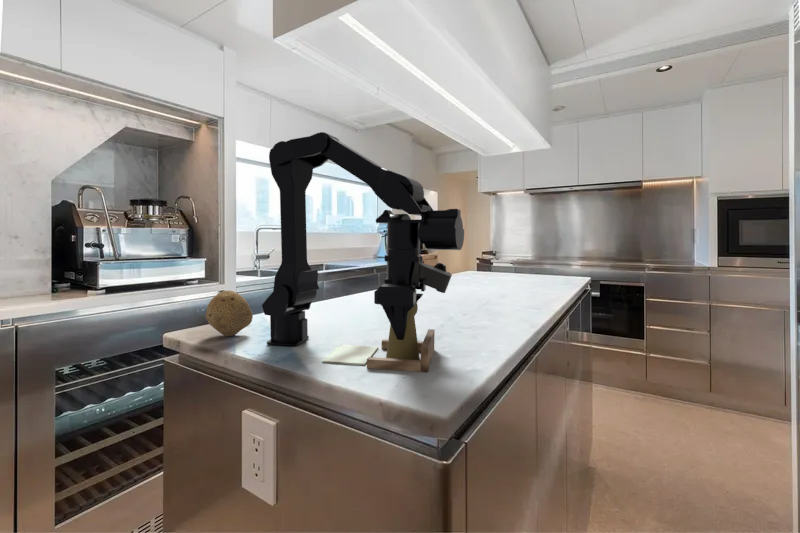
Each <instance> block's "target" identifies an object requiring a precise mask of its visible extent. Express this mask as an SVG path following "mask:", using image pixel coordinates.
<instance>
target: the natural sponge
mask: <svg viewBox="0 0 800 533" xmlns="http://www.w3.org/2000/svg"><path fill="white" fill-rule="evenodd" d="M205 311H206V312H205V319H206V321H207V322H208V324H209V325H210V326H211V327H212V328H213V329H215V330H216V331H217V332H218V333H219V334H221V335H222V336H225V337H234V336H236V335H238V333H239V332H240V331H242V330H243V329H245V328H246V327H249V326H250V325H251V323H252V322H253V316H254V315H253V312H252V309H251V307H250V305H249V303H248V302H247V300H246V299H245V297H244V296H242V295H241V294H239V293H238V292H236V291H234V290H223V291H221V292H219V293H217V294H216V295H214V296H213V298H211V299H210V301H209V302H208V304H207V306H206V310H205Z"/></svg>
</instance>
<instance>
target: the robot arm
mask: <svg viewBox="0 0 800 533" xmlns="http://www.w3.org/2000/svg"><path fill="white" fill-rule="evenodd" d="M268 154H269V155H268V159H269V167H270V173H271V176H272V178H273V180H274V182H275V184H276V186H277V187H278V189H279V203H280V204H279V207H280V208H279V210H280V239H281V240H280V245H281V248H280V249H281V263H280V265H279V267H278V269H277V272H276V273H275V275H274V281H273V289H272V290H273V291H272V292H271V293H270V295H269V296H268V297H267V298H266V299H265V301H264V302H263V303H262V304H261V306H262V310H263V313H264V315H265V316H269V322H270V323H269V325H270V339H269V340H267V341H266V345H272V346H273V345H274V346H286V347H287V346H288V347H291V346H292V347H296V346H299V345H300V344H302V343H304V342H305V341H306V340H308V339H309V338H310V337H309V335H308V334H309V332H308V318H306V311H308V310H310V309H311V304H312V303H313V302H312V301H313V300H314V299H315V298H316V296H317V292H318V290H320V287H319V283H318V279H319V272H318V269H315V270H313V269H312V268H311V266H310V265H309V262H308V248H307V246H308V243H307V237H308V236H307V206H306V205H307V202H306V200H307V199H306V198H307V197H306V196H307V195H306V191H307V189H308V187H309V184H310V183H311V181H312V178H313V173H314V172H313V171H314V169H316V168H320V167H322V166H324V164H325V163H327V162H328V161H331V162H333V163H334V164H336V165H337V166H339V167H340V168H342V169H343V170H345V171H346V172H348V173H349V174H350V175H352V176H354V177H356V178H357V179H359V180H361V181H362V182H364V184H366V185H367V186H369V187H370V189H371V190H372V191H373V192H374V195H375V196H377V197H378V198H379V199H380V200H381V201H382V202H383V203H384V204H385V205H386V206H387V207H389V208H391V209H393V210H399V211H403V212H405V213H393V212H392V210H390V209H384V210H383V212H382V213H381V214H380V215H379V216H378V217H376V219H375V223H377V224H385V225H387V226H386V227H387V228H386V229H387V230H386V237H387V238H386V242H387V243H386V246H387V247H386V254H385V255H384V262H386V278H384V284H382V285H380V286H379V287H378V288H377V289H376V290H375V291H374V298H373V300H374V301H373V302H374V303H373V304H375V305H380V306H381V307H382V309H383V311H384V313H385V315H386V317H387V320H388V322H389V323H390V324H389V325H391V326H392V328H393V331H394V333H395V335H396V337H397V339H398V340H403V339H404V336H405V331H406V325H407V319H408V314H409V310H410V309H411V308H413V307H414V306H415V305H416V303H417V304H418V301H419V300H420V299H422V297H423V296H424V294H423V293H417V290H420V291H421V292H425V291H426V289H427V287H429V288H432V289H434V290H436V291H437V292H439V293H442V294H445V293H447V292H446V291H447V289H448V286H449V284H450V281H451V280H452V279H451V278H452V276H453V274H452V273H451V272H449V271H448V272H447V265H446V264H445V263H442V262H437V263H436V264H435V265H434V266H433V265H430V264H427V263H423V262H424V261H423V259H424V258H423V255H422V254H420V248H421V247H420V246H421V245H424V247H425V249H426V250H427V251H428V250H434V251H435V250H436V251H438V250H439V251H440V250H441V251H461V250H462V249H463V245H464V240H465V228H464V225H463V224H464V223H463V220H462V217H461V215H462V214H461V212H462V211H461V209H460V208H448V209H439V210H434V209H433V207H432V206H431V204H430V203H429V202H428V201H427V199H426V198H425V190H424V187H423V185H422V183H420V182H419V181H418V180H416V179H413V178H411V177H407V176H405V175H403V174H400V173H397V172H395V171H392V170H389V169H386V168H385V167H383V166H381V165H379V164H377V163H375V161H373V160H371V159H370V158H368V157H366V156H364V155H363V154H361V153H359V151H357V150H355V149H354V148H352V147H350V146H348V145H347V144H345V143H343V142H342V141H340V139H339V138H338V137H336V136H333V135H331V134H329V133H328V132H327V133H326V132H323V131H322V132H316V133H314V134H311V135H309V136H303V137H298V138H296V137H295V138H292V139H289V140H287V141H283V140H281V141H278V142H277V143H274V145H273V146H272V148H270V150H269V153H268ZM410 215H412V216H417V217H419V216H420V217H421V219H412V218H411V216H410ZM420 244H421V245H420Z"/></svg>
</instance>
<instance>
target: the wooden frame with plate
mask: <svg viewBox="0 0 800 533" xmlns="http://www.w3.org/2000/svg"><path fill="white" fill-rule="evenodd" d="M435 332H436V330H435V329H433V328H432V329H431V328H429V329H427V332H426V334H425V336H424V339H423V341H418V340H417V342H418V350H419V352H420V359H419V360H409V359H393V358H386V357H373V355H374V354H376V352H377V351H378V349H379V347H378V346H366V345H352V344H340V345H339V346H338V347H337V348H335V349H334V350H333V351H332V352H330V354H328V355H327V356H326V357H324V359H322V361H321V363H322V364H337V365H338V364H340V365H354V366H355V365H356V366H365V365H366V369H375V370H376V369H377V370H390V371H392V370H393V371H402V372H417V373H418V372H421V373H429V370H430V367H431V366H430V365H431V363H432V359H433V356H434V354H435V353H434V352H435ZM387 347H388V339H381V350H382V349H383V350H384V349H385V350H387Z"/></svg>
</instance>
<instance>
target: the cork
mask: <svg viewBox="0 0 800 533" xmlns="http://www.w3.org/2000/svg"><path fill="white" fill-rule="evenodd" d="M418 307H419V306H418V302H417V303H416V305H415V306H414V307H413V308H411V309H410V310H409V314H408V319H407V325H406V331H405V336H404V339H403V340H398V339H397V337H396V335H395V333H394V331H393V328H392V326H391V324H389V333H388V339H387V340H388V347H387V349H386V354H385V355H386V356H385V358H393V359H409V360H421V357H420V351H419V350H418V342H417V341H418V336H417V335H418V334H417V326H416V319H415V317H416V314H417V313H418V309H419V308H418Z"/></svg>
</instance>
